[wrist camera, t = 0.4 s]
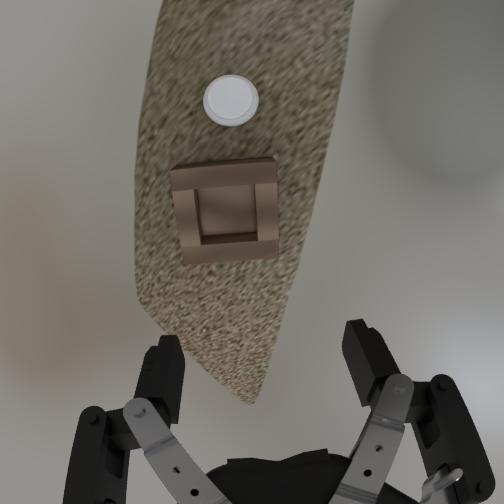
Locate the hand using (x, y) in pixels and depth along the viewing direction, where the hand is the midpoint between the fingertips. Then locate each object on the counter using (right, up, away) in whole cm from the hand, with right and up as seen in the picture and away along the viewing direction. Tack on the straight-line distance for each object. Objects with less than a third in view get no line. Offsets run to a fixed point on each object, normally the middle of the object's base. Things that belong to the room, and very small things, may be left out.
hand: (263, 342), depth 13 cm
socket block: (-4, +10, +23) cm, 26 cm away
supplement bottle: (-3, +22, +18) cm, 28 cm away
